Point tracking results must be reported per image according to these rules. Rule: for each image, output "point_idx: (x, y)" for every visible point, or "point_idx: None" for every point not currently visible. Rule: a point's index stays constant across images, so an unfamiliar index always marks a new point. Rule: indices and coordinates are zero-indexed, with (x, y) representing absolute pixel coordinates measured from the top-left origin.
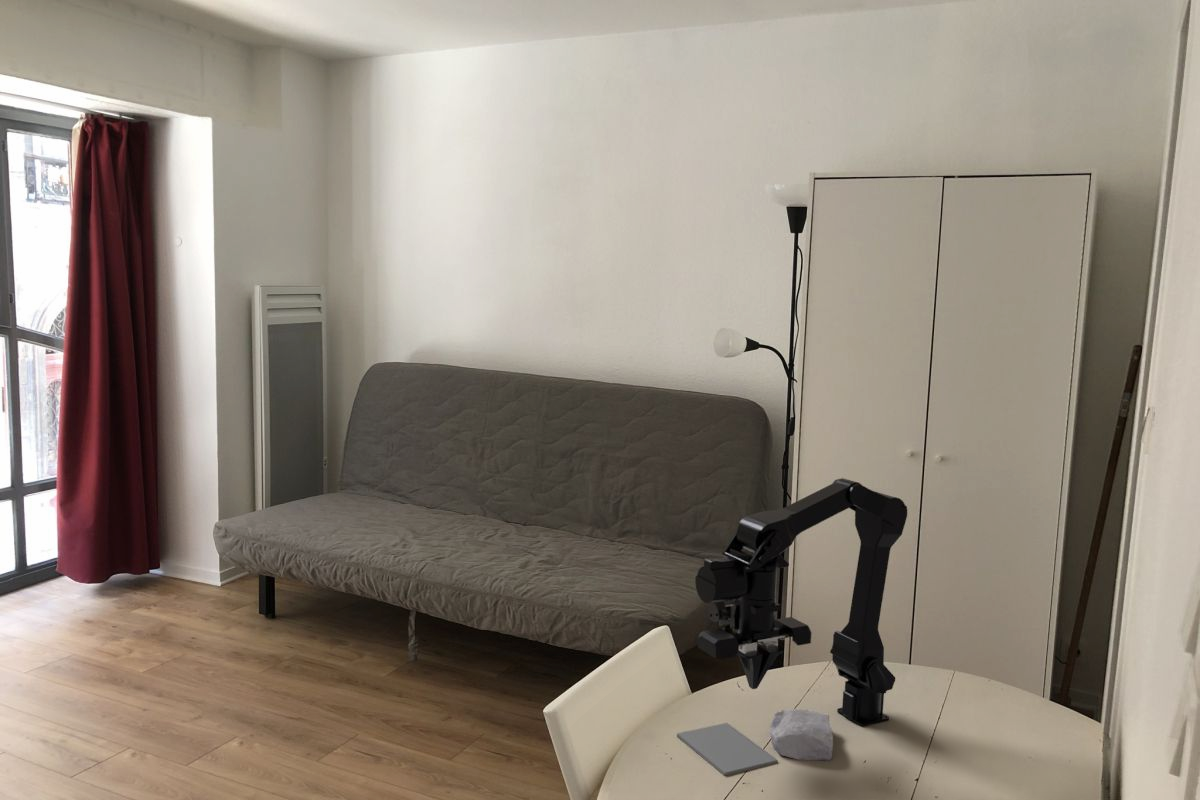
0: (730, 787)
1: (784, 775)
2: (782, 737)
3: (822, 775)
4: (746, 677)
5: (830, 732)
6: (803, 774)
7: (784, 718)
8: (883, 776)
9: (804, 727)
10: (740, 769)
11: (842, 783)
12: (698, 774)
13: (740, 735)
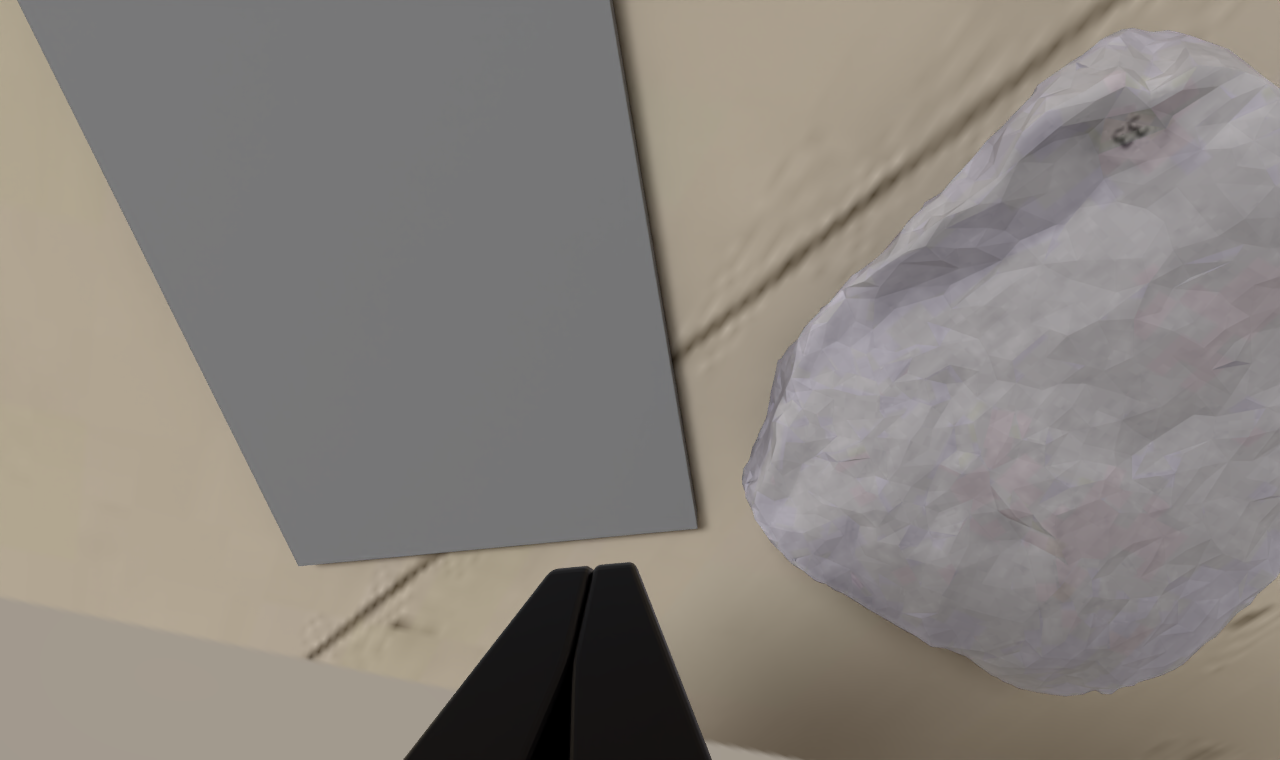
0: (312, 640)
1: (662, 622)
2: (786, 553)
3: (874, 667)
4: (464, 684)
5: (1166, 672)
6: (776, 638)
7: (1070, 240)
8: (1186, 743)
9: (1044, 546)
10: (411, 552)
11: (920, 738)
12: (149, 502)
13: (598, 144)
